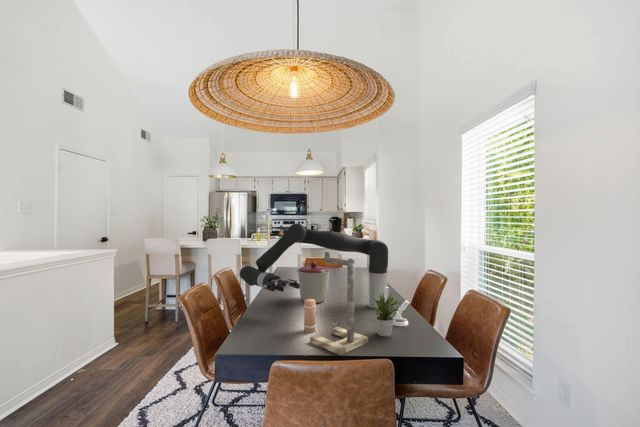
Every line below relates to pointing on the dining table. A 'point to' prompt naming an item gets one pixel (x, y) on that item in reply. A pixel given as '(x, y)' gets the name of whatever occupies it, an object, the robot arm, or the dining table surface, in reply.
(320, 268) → the canister
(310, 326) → the orange cylindrical bottle
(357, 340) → the wooden gallows stand
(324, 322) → the dining table surface
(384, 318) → the house plant
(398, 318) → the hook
